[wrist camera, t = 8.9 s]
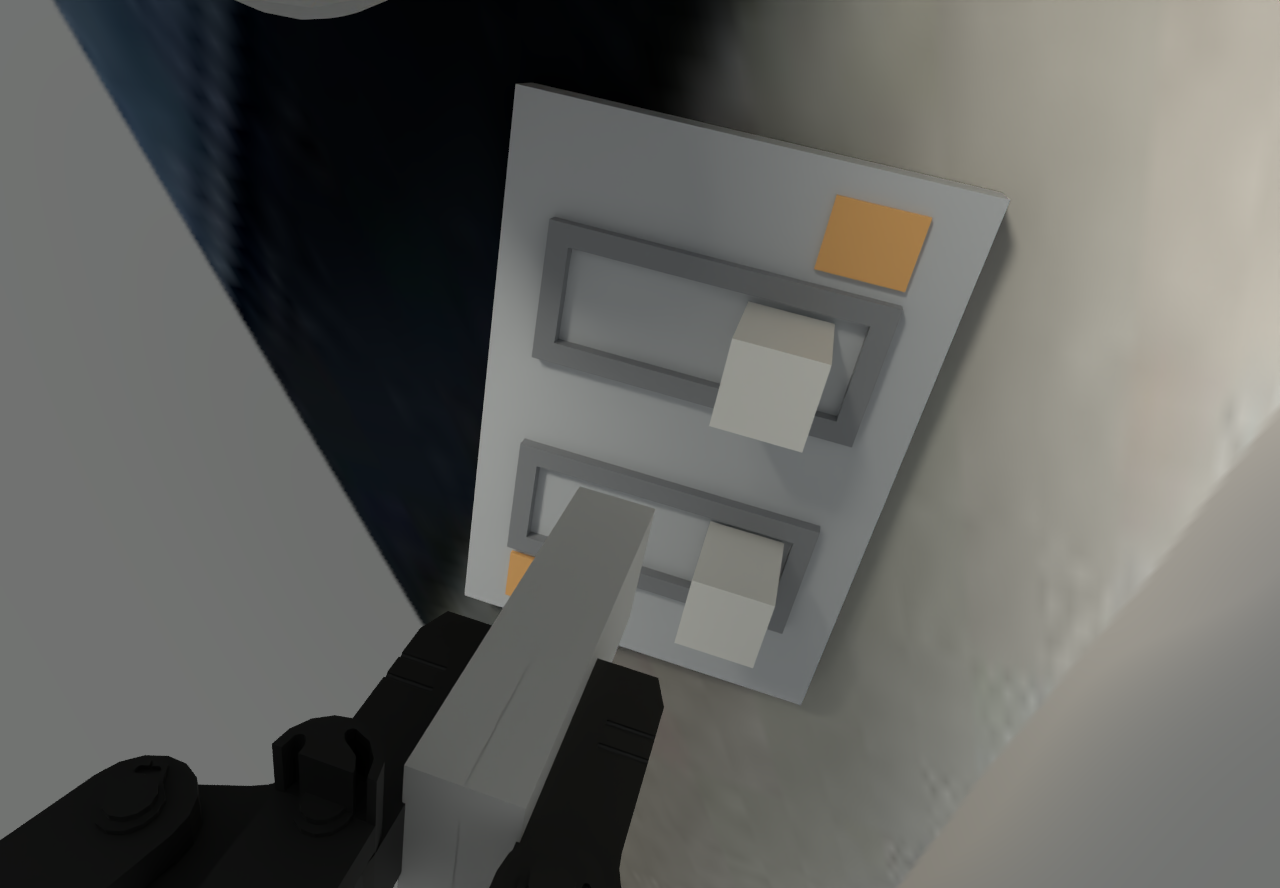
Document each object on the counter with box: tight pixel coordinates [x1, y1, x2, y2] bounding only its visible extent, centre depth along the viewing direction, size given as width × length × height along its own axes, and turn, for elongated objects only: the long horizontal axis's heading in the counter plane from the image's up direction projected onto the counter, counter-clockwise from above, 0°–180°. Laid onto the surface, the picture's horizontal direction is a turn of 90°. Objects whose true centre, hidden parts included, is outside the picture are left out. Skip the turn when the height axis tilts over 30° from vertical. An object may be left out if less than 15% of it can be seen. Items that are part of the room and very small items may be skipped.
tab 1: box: [709, 301, 835, 452], centre depth 25 cm, size 3×3×4 cm
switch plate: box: [465, 83, 1010, 705], centre depth 30 cm, size 16×22×2 cm
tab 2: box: [674, 521, 784, 668], centre depth 29 cm, size 3×3×4 cm
